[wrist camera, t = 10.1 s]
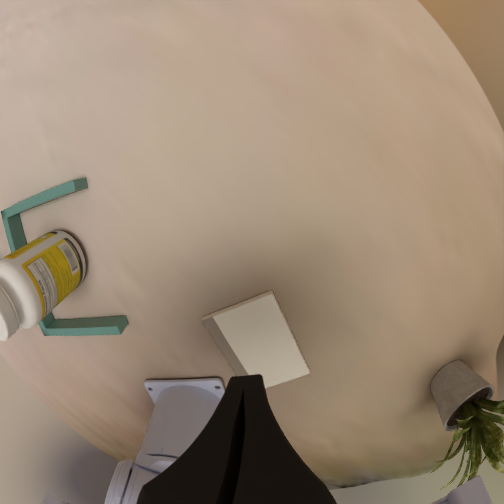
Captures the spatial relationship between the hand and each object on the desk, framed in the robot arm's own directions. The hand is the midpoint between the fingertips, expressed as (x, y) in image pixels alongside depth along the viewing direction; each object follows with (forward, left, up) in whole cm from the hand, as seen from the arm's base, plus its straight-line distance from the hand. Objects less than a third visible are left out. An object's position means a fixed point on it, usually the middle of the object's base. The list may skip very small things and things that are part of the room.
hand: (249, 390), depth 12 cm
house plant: (-16, -20, -11) cm, 28 cm away
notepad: (-5, 0, -10) cm, 12 cm away
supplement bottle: (+5, +16, -10) cm, 19 cm away
